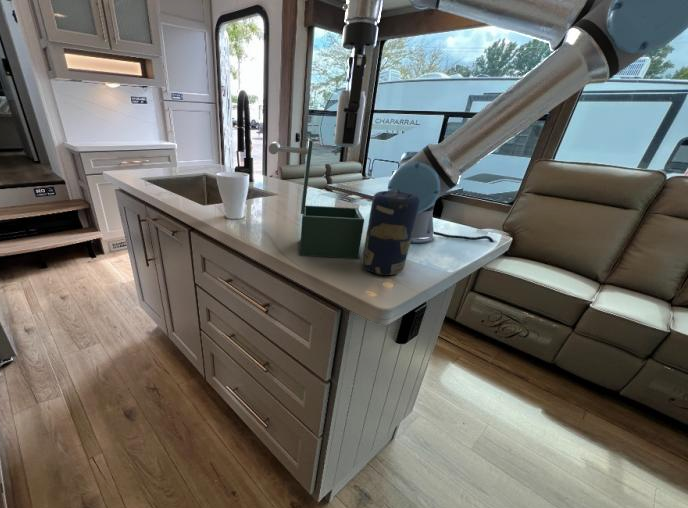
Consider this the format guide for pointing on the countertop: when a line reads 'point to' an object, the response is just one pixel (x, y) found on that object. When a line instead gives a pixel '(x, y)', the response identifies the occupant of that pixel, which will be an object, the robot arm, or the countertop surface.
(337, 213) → the chest
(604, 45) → the robot arm
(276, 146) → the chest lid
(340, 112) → the beverage can
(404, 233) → the canister
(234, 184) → the cup
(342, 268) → the countertop surface
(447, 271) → the countertop surface
